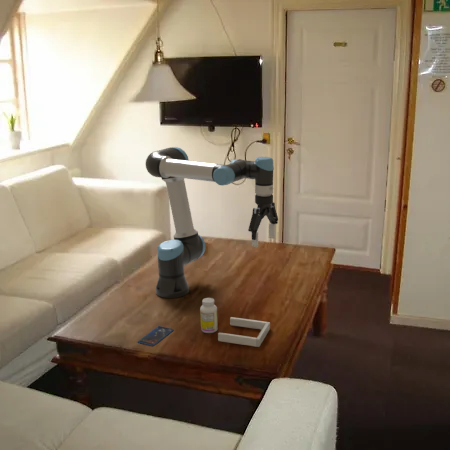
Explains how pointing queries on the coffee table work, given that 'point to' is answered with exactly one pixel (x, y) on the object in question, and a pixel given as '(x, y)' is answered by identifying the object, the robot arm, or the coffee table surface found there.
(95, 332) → the coffee table surface
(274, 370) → the coffee table surface
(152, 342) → the smartphone
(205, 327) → the supplement bottle
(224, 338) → the corral
